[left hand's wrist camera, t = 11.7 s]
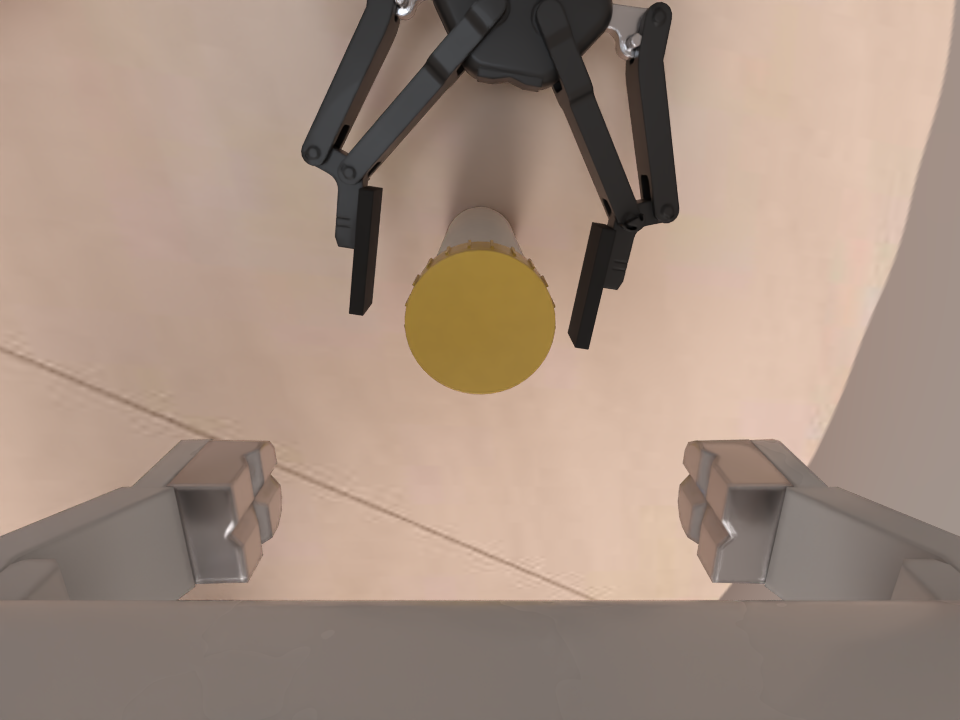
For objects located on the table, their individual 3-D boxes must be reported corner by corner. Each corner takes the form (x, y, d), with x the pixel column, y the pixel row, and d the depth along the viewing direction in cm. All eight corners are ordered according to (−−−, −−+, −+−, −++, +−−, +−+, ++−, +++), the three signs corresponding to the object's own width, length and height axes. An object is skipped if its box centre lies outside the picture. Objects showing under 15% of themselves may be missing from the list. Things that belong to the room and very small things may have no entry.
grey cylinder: (521, 265, 37) (559, 363, 20) (457, 283, 37) (438, 396, 20) (503, 197, 35) (526, 239, 18) (436, 218, 36) (396, 278, 19)
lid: (565, 355, 21) (573, 374, 19) (434, 391, 22) (430, 413, 20) (530, 220, 19) (535, 227, 18) (389, 263, 20) (380, 274, 18)
